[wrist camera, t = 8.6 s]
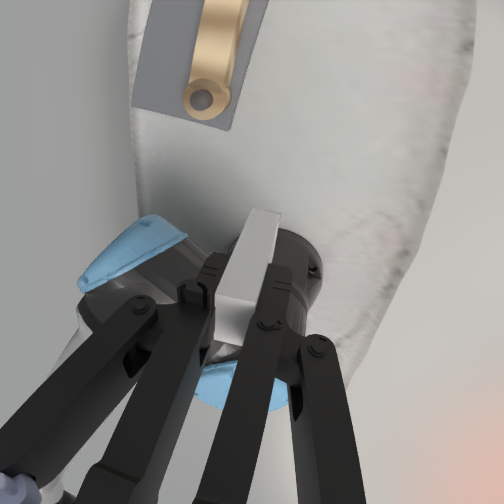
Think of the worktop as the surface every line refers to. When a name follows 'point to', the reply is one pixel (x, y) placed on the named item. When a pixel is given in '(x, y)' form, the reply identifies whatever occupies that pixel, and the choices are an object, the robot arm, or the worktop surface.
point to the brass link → (214, 58)
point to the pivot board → (185, 58)
